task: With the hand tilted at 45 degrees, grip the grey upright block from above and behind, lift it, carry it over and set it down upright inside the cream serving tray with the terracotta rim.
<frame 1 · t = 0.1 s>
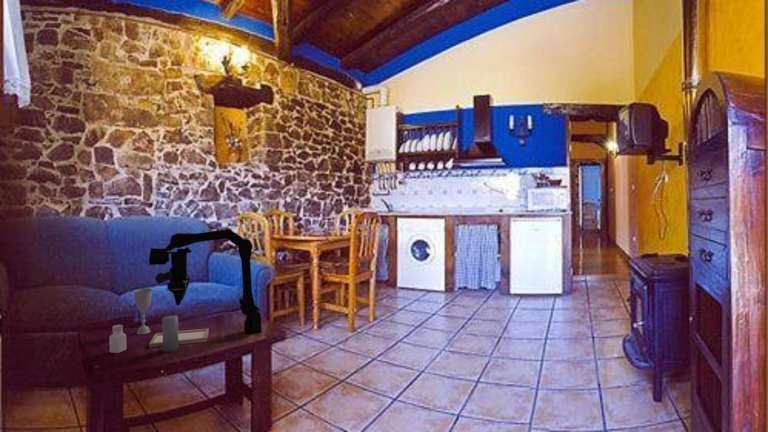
hand: (179, 302, 164), 15 cm above the table, tool pointing down, fingers open, 9 cm apart
serving tray: (180, 339, 164), on the table
chalice: (143, 332, 173), on the table
pepper shaker: (118, 351, 151), on the table
grey upright block: (170, 349, 153), on the table
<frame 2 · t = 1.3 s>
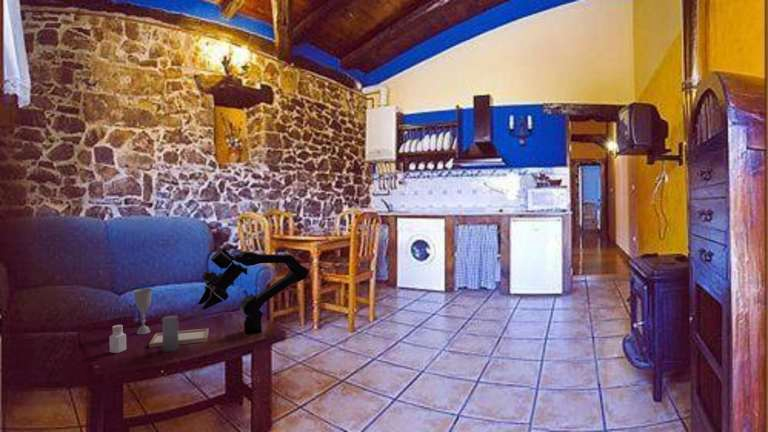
hand: (200, 306, 162), 14 cm above the table, tool tilted 45°, fingers open, 9 cm apart
nothing on the table moved.
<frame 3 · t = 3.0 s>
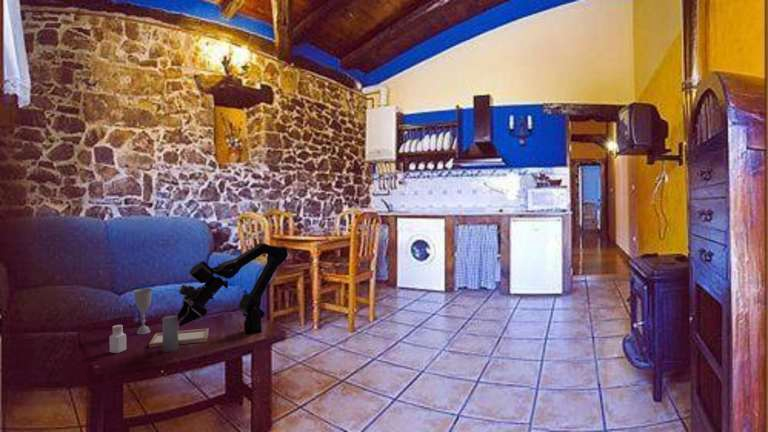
hand: (177, 322, 154), 10 cm above the table, tool tilted 45°, fingers open, 9 cm apart
nothing on the table moved.
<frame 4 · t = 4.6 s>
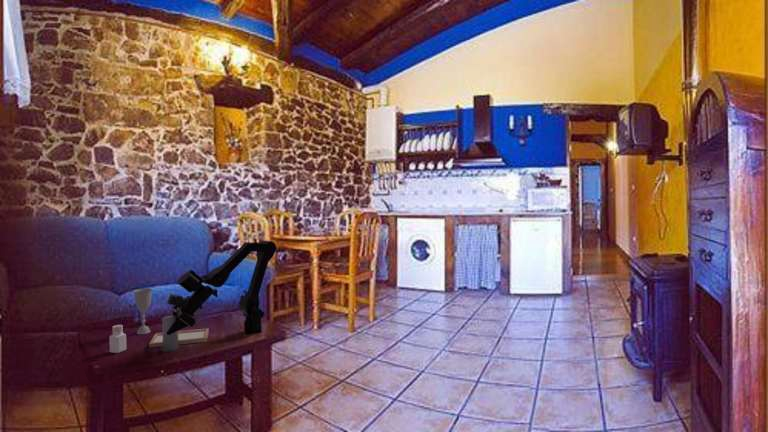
hand: (166, 332, 152), 7 cm above the table, tool tilted 45°, fingers closed on grey upright block, 5 cm apart
grey upright block: (170, 349, 153), on the table, touching gripper
everything else where it was.
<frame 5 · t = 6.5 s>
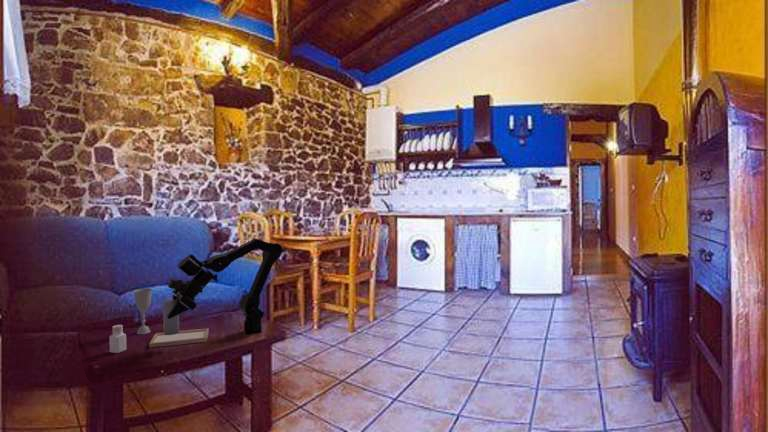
hand: (166, 316, 153), 12 cm above the table, tool tilted 45°, fingers closed on grey upright block, 5 cm apart
grey upright block: (171, 332, 154), point 6 cm above the table, touching gripper
everything else where it was.
when the fingers open (8 cm above the table, at t = 8.6 s): grey upright block drops 1 cm, resting on serving tray.
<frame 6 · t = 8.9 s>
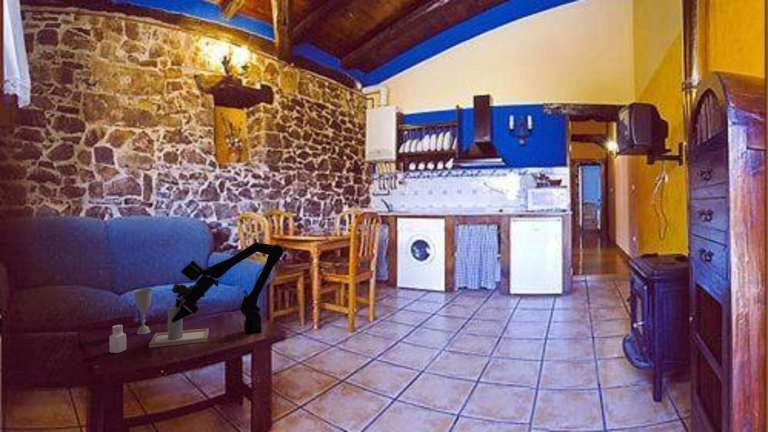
hand: (170, 319, 162), 9 cm above the table, tool tilted 45°, fingers open, 8 cm apart
grey upright block: (175, 337, 163), point 1 cm above the table, touching serving tray
everything else where it was.
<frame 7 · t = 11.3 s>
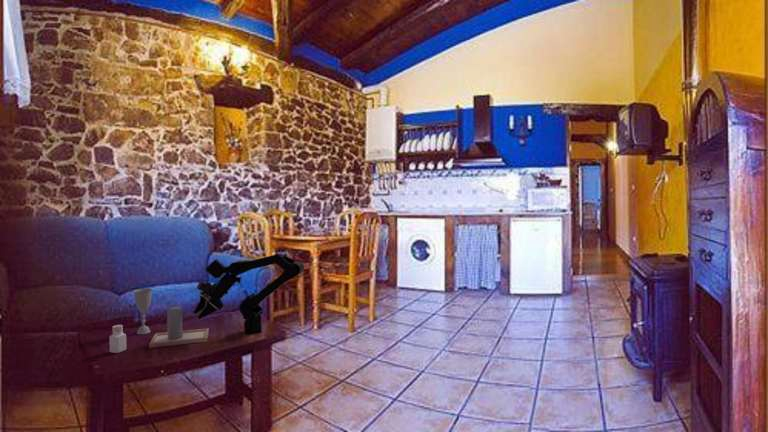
hand: (196, 315, 167), 9 cm above the table, tool tilted 45°, fingers open, 9 cm apart
nothing on the table moved.
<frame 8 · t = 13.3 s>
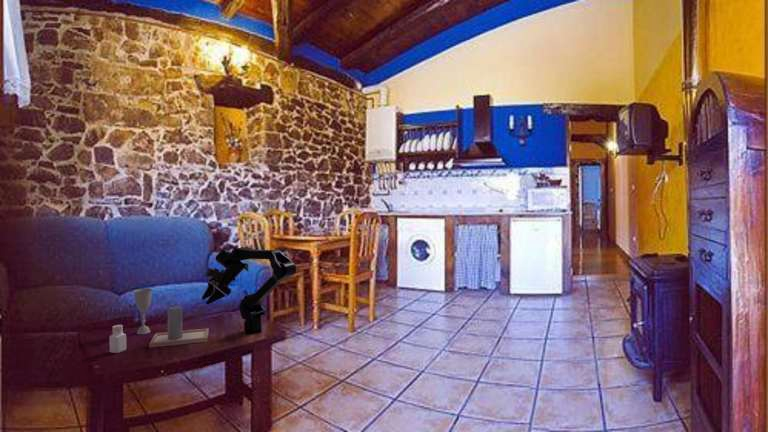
hand: (204, 301, 171), 14 cm above the table, tool tilted 45°, fingers open, 9 cm apart
nothing on the table moved.
at the end: grey upright block inside the target area on the serving tray (1.9 cm from its centre), point 0.8 cm above the serving tray's base; grey upright block tilted 1°; the gripper is holding nothing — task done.
